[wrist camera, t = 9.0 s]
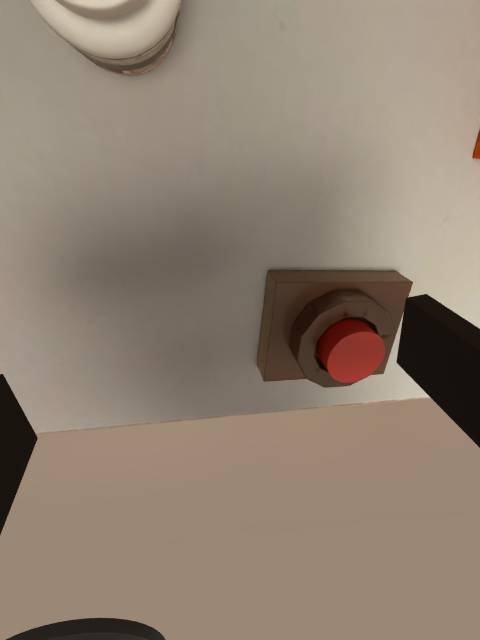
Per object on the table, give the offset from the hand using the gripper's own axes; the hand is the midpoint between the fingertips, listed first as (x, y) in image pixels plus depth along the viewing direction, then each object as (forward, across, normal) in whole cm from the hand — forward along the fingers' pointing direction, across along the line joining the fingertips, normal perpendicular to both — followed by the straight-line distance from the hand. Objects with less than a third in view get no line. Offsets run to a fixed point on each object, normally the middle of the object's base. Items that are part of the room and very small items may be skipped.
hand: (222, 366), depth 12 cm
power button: (+9, +9, -7) cm, 15 cm away
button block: (+13, +9, -7) cm, 18 cm away
